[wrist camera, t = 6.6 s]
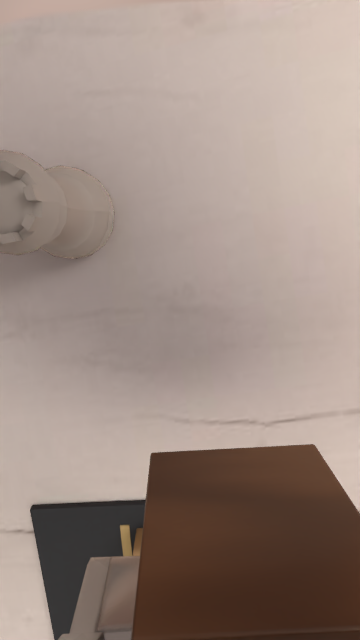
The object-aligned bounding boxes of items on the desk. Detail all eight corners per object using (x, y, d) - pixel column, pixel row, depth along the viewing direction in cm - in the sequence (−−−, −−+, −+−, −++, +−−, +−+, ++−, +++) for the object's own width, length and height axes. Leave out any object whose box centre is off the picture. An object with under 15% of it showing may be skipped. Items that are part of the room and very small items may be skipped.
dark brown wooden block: (160, 579, 11) (151, 831, 6) (150, 451, 9) (129, 646, 5) (307, 572, 11) (403, 817, 6) (314, 443, 9) (438, 630, 5)
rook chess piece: (112, 167, 18) (59, 116, 10) (119, 256, 19) (77, 273, 11) (25, 171, 18) (-97, 122, 10) (37, 259, 19) (-64, 279, 11)
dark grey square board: (71, 714, 28) (69, 722, 27) (32, 504, 23) (29, 510, 22) (322, 704, 27) (324, 712, 27) (337, 491, 22) (341, 496, 22)
